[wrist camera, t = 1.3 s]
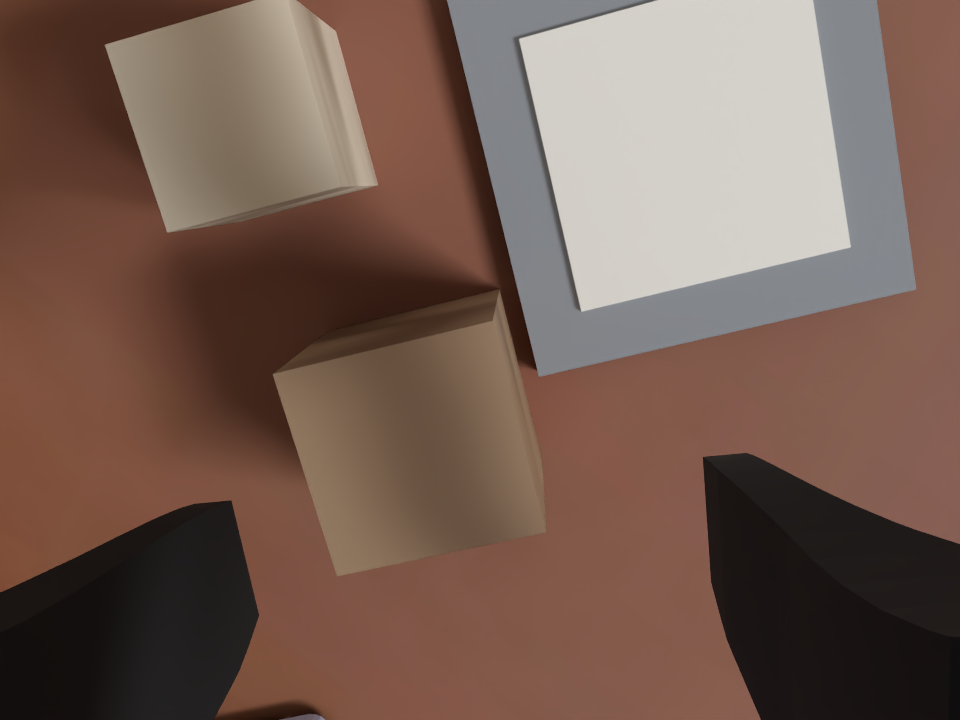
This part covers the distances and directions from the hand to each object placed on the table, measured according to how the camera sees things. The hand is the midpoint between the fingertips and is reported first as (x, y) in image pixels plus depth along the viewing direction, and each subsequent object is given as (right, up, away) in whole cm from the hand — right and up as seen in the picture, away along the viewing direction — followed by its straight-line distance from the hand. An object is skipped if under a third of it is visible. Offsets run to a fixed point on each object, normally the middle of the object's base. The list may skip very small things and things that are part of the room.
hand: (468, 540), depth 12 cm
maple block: (-5, +9, +9) cm, 14 cm away
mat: (+5, +8, +9) cm, 13 cm away
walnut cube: (-1, +2, +11) cm, 11 cm away
